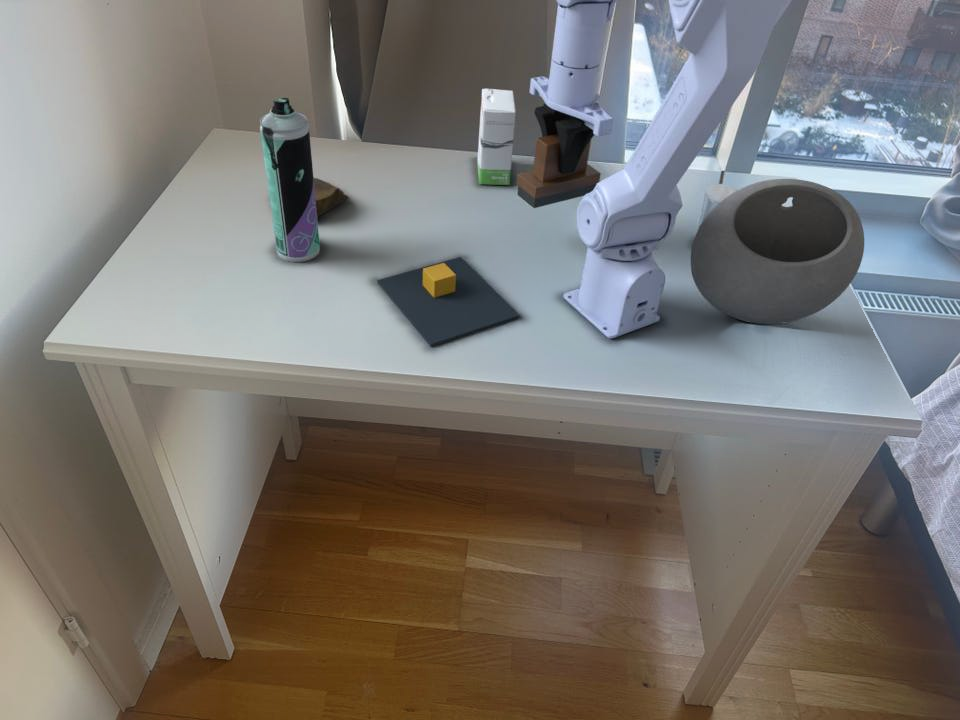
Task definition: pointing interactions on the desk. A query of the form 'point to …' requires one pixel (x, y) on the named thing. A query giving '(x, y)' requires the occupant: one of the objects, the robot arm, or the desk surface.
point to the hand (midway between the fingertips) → (560, 167)
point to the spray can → (290, 182)
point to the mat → (448, 303)
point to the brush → (555, 176)
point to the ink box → (496, 136)
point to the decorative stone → (327, 196)
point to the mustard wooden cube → (439, 280)
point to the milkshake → (715, 196)
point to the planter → (777, 251)
